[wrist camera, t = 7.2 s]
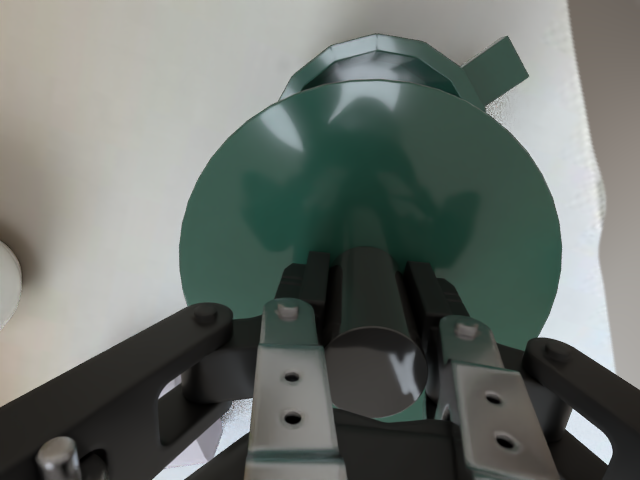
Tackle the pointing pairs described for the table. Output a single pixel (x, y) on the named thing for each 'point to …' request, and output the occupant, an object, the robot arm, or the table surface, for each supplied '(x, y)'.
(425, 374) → the lid
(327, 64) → the pot
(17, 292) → the trinket box
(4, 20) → the table surface
